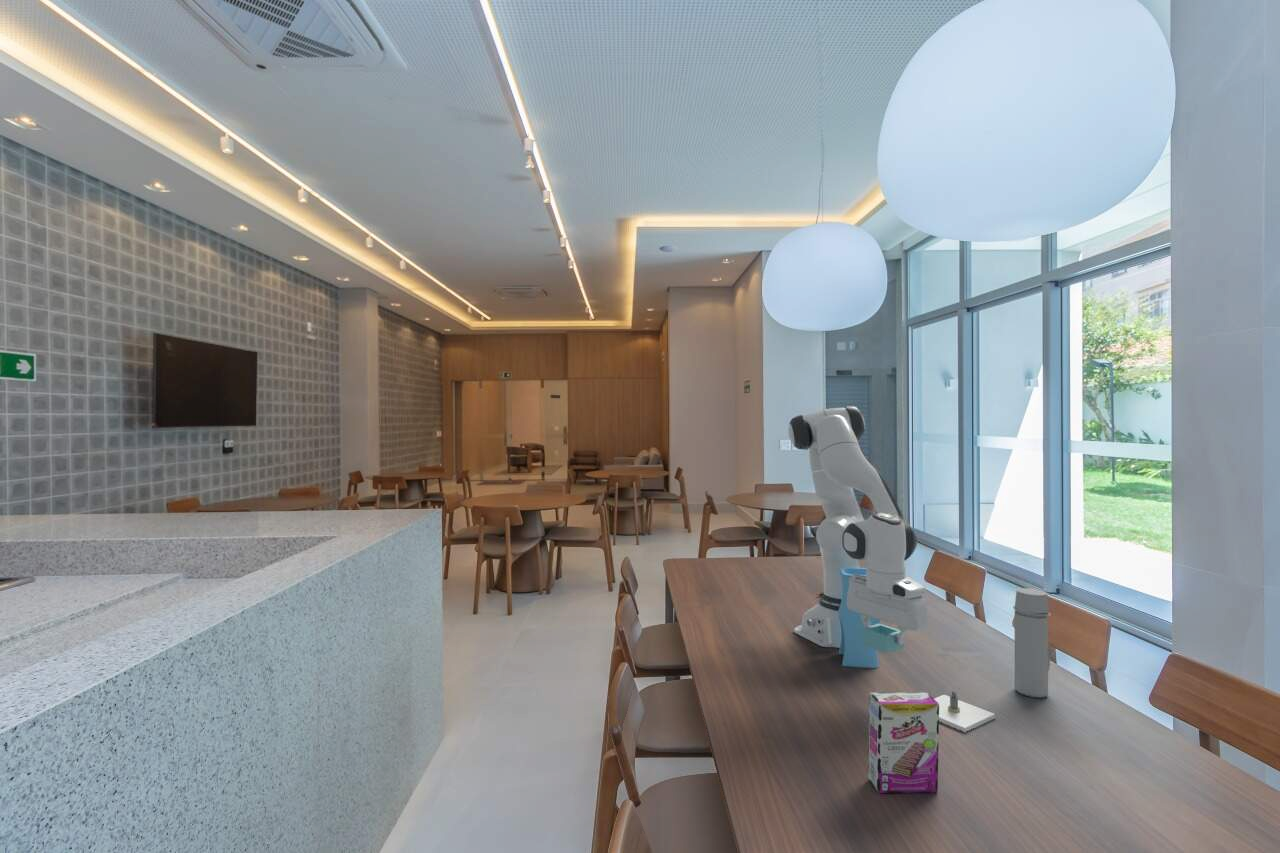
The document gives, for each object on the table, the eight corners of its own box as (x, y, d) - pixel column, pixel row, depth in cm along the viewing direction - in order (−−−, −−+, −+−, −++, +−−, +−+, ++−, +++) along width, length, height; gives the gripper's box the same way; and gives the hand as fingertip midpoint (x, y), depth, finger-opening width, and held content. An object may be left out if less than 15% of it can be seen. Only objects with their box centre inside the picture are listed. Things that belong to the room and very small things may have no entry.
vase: (880, 668, 168) (880, 576, 168) (842, 665, 170) (842, 574, 170) (874, 655, 178) (874, 568, 178) (838, 653, 180) (838, 566, 180)
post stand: (914, 711, 143) (914, 688, 143) (944, 698, 150) (944, 677, 150) (965, 732, 133) (965, 708, 133) (994, 718, 139) (994, 695, 139)
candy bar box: (878, 795, 110) (878, 703, 110) (867, 779, 115) (867, 691, 115) (940, 794, 111) (940, 702, 111) (926, 778, 116) (926, 690, 116)
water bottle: (1033, 701, 148) (1033, 597, 148) (1005, 688, 156) (1005, 588, 155) (1063, 697, 150) (1063, 594, 150) (1034, 683, 158) (1034, 586, 158)
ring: (861, 644, 151) (862, 628, 151) (879, 639, 154) (879, 623, 154) (886, 653, 145) (886, 636, 145) (903, 648, 149) (904, 631, 149)
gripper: (841, 573, 157) (840, 627, 157) (915, 593, 140) (914, 654, 140) (857, 570, 160) (856, 623, 160) (932, 589, 143) (930, 649, 143)
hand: (884, 638), depth 150 cm, fingers closed on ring, 7 cm apart
